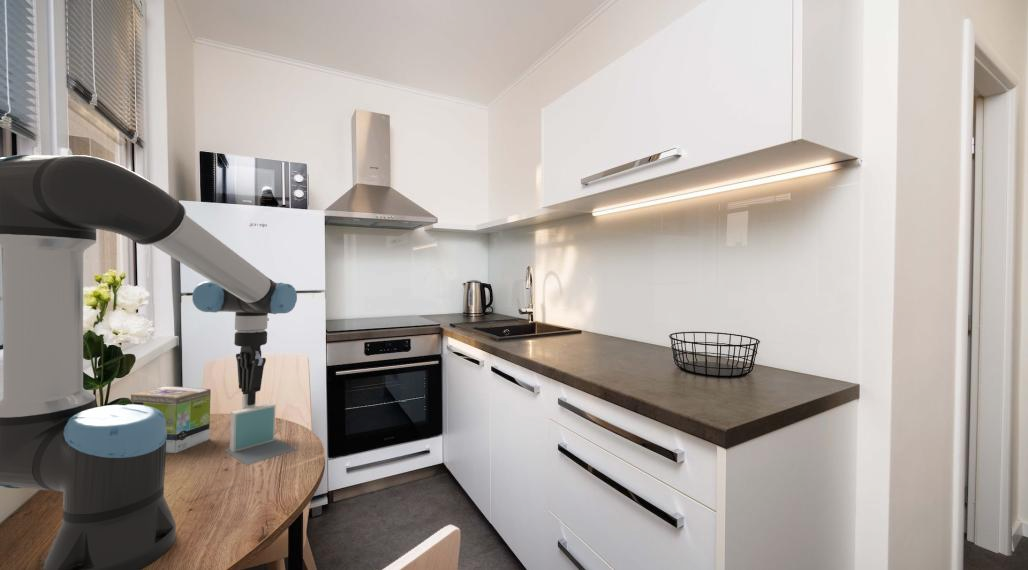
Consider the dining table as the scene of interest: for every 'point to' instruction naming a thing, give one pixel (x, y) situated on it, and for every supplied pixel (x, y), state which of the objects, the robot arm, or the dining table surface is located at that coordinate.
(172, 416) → the tea box
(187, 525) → the dining table surface
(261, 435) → the tile
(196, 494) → the dining table surface
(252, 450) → the mat
